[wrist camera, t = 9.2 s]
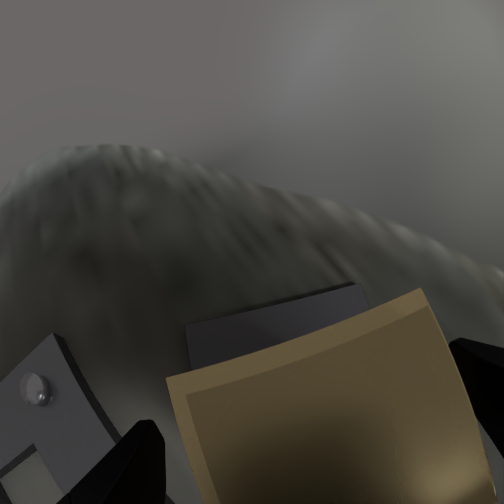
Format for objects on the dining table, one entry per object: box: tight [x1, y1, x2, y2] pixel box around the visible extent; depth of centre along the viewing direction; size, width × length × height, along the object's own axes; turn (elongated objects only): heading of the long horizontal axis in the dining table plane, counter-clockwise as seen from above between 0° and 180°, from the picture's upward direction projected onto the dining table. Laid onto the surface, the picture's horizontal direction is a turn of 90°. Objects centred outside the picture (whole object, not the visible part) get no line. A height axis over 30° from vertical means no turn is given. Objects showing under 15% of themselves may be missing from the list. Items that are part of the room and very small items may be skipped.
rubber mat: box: [184, 283, 370, 371], centre depth 14 cm, size 14×10×1 cm
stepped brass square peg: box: [166, 288, 498, 504], centre depth 9 cm, size 5×5×12 cm
